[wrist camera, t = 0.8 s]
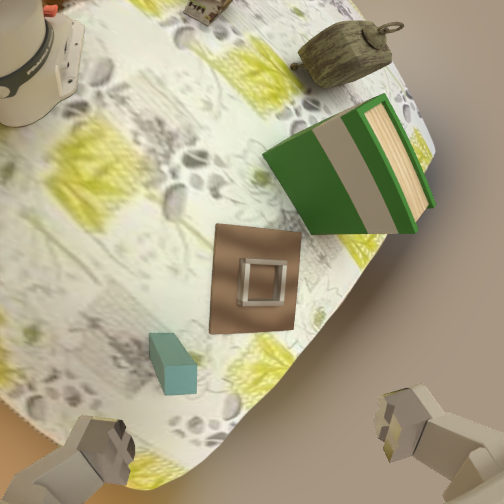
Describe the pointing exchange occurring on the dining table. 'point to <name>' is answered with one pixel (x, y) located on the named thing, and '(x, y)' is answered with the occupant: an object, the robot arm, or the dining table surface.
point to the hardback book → (354, 173)
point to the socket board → (254, 279)
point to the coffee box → (206, 9)
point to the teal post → (172, 364)
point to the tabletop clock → (346, 52)
